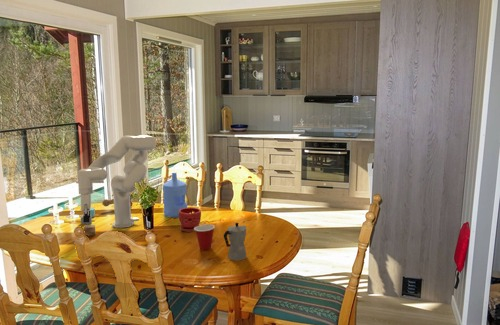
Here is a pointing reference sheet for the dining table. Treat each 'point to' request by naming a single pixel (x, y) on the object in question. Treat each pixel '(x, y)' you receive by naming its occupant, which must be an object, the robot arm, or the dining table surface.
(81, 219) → the base block
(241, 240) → the coffeepot
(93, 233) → the walnut block
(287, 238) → the dining table surface
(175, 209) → the water jug
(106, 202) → the toy helicopter
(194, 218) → the plant pot
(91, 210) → the teal block
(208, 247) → the plastic cup
